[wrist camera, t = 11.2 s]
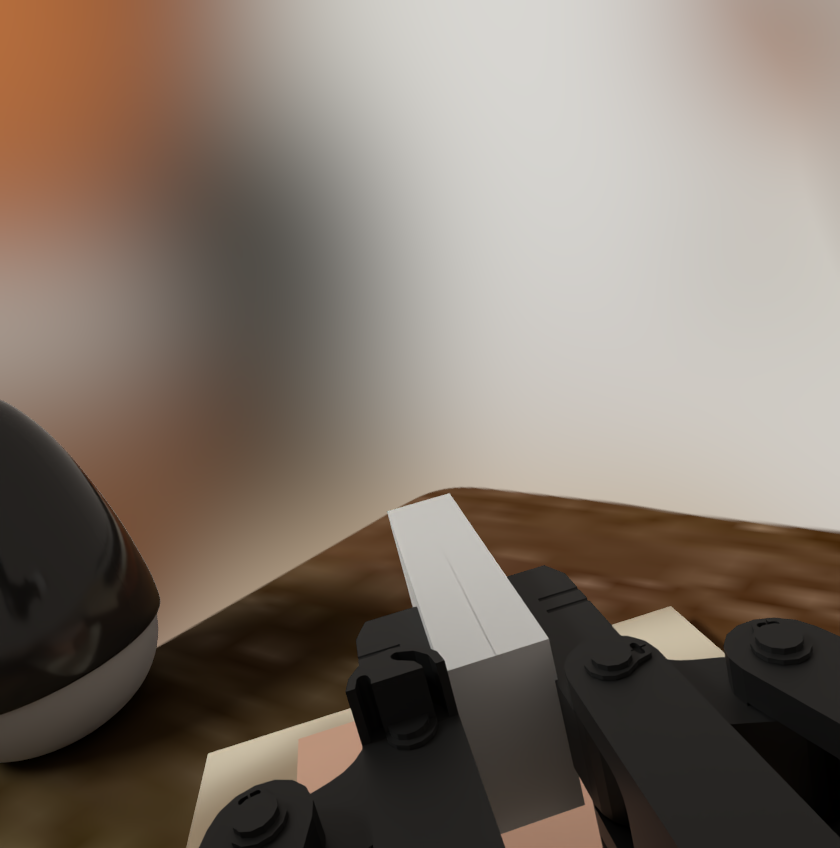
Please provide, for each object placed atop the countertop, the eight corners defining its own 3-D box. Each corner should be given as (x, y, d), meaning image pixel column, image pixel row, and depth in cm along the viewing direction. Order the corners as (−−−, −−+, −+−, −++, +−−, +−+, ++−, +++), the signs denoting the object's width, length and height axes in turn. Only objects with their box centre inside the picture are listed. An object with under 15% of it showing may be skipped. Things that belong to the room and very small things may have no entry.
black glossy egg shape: (112, 635, 36) (10, 376, 33) (228, 664, 30) (119, 349, 27) (-99, 768, 28) (-262, 444, 25) (2, 843, 22) (-195, 429, 19)
